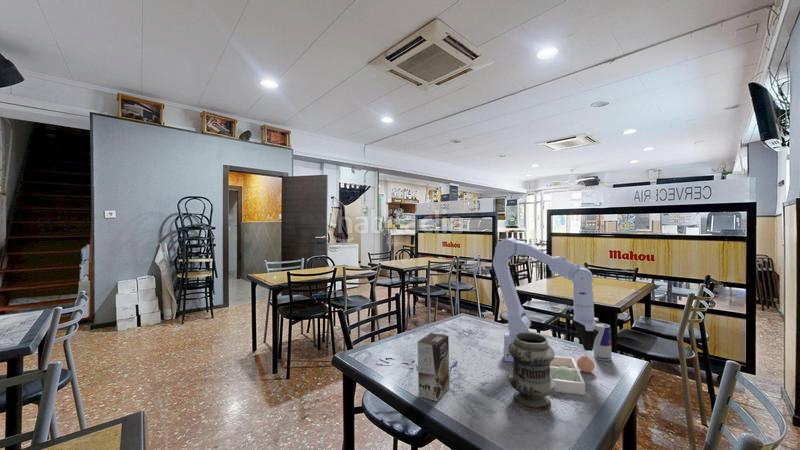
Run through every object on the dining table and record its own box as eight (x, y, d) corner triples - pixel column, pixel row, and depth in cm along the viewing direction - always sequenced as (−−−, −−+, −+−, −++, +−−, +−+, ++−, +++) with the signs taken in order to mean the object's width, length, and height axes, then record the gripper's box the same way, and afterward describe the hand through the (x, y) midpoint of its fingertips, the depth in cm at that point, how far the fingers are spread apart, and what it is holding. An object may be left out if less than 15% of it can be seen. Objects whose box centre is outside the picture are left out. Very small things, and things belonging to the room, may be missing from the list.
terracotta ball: (578, 374, 102) (578, 358, 102) (575, 367, 107) (575, 352, 107) (596, 376, 100) (596, 360, 100) (592, 369, 105) (592, 354, 105)
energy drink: (614, 361, 110) (613, 327, 110) (597, 360, 111) (596, 327, 111) (607, 355, 115) (606, 322, 115) (591, 354, 116) (590, 322, 116)
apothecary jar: (532, 419, 80) (530, 348, 80) (499, 395, 91) (498, 333, 91) (566, 406, 85) (564, 340, 84) (531, 386, 96) (529, 327, 95)
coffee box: (438, 402, 88) (436, 345, 88) (417, 396, 91) (416, 341, 91) (450, 387, 96) (449, 335, 96) (431, 382, 99) (430, 331, 99)
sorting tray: (549, 390, 93) (549, 379, 93) (543, 364, 109) (543, 354, 109) (585, 395, 90) (585, 383, 90) (573, 367, 106) (572, 357, 106)
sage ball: (556, 386, 94) (556, 369, 94) (554, 378, 99) (554, 362, 99) (575, 388, 92) (575, 371, 92) (572, 380, 97) (571, 364, 97)
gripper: (603, 311, 95) (605, 355, 95) (591, 299, 109) (593, 338, 109) (577, 310, 98) (579, 353, 98) (569, 299, 111) (570, 337, 111)
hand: (585, 345), depth 103 cm, fingers open, 7 cm apart
